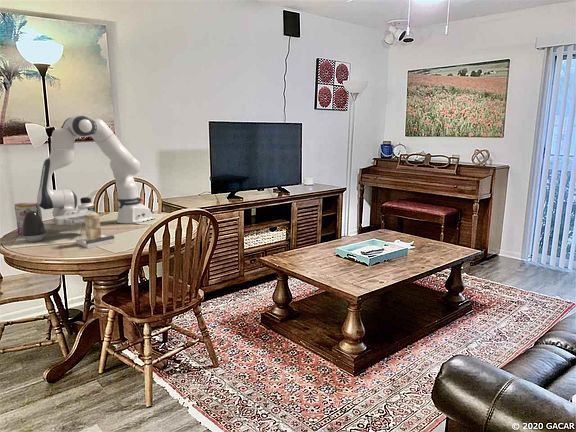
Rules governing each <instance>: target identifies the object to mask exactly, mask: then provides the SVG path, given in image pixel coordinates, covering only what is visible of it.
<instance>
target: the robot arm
mask: <svg viewBox="0 0 576 432" xmlns="http://www.w3.org/2000/svg"><path fill="white" fill-rule="evenodd" d="M88 136H90V138H92V140H93V141H94V142H95V143H96V145H97V147H99V149H100V151H102V153H103V155H104V156H106V157H107V158H108V159H109V160H110V162H109V166H110V167H109V168H110V169H111V171H112V174H113V178H114V181H115V186H116V194H117V197H116V198H117V199H116V202H117V203H116V204H117V209H118V211H117V218H116V222H117V223H118V224H140V223H144V222H148V221H147V220H149V221H152V220H151V219H153V220H155V219H154V218H156V216H155V215H152V212H151V209H150V208H149V207H148V206H146V205H144V204H143V203H142V202H144V200H145V198H143V197H138V187H137V183H136V182H135V179H134V176H133V175H137V174H138V173H140V170H141V163H140V161H139V160H138V158H137V159H136V157H134V155H133V154H132V153H131V152H130V151H129V150H128V149H127V148H126V147H125V146H124V145H123V144H122V143H121V141H120V140H119V138H118V137H117V135H115V133H114V132H113V130H112V129H111V128H110V126H108V124H107V123H106V122H105V121H104V120H102V119H101V118H94V119H91V118H89V117H88V116H85V115H75V116H72V117H68V118H66V119H65V120H64V122H63V124H62V125H61V127H59V128H55V129H54V130H52V133H51V138H50V154H49V156H48V158H46V159H45V160H44V162H43V164H42V165H43V166H42V168H41V169H42V170H41V175H40V182H39V188H38V193H37V196H36V203H37V204H38V205H39V206H40V207H41V209H43V210H52V212H51V213H52V217H53V218H52V219H50V221H51V222H54V224H55V225H56V226H63V225H64V226H65V225H67V226H68V225H69V226H75V225H78V224H81V223H83V222H84V223H85V216H84V215H87V214H94V213H95V214H98V213H97V212H96V211H95V212H93V211H90V210H88V209H78V208H77V207H78V196H77V195H76V193H75V192H74V191H73V190H71V189H50V188H51V182H52V176H53V174H54V173H55V172H56V171H57V170H60V169H63V168H65V167H67V166H69V165H70V164H71V163H73V162H74V160H75V141H76V139H77V138H82V137H88ZM143 221H144V222H143Z"/></svg>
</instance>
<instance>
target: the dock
mask: <svg viewBox="0 0 576 432" xmlns="http://www.w3.org/2000/svg"><path fill="white" fill-rule="evenodd" d="M115 242H116V241H115V235H113V234H112V235H108V236H107V235H104V234H101V238H96V239H91V240H89V239H87V236H86V237H82V238H77V239H75V243H76V245H79V246H82V247H84V248H87V249H91V248H95V247H102V246H105V245H109V244H114V243H115Z"/></svg>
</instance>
